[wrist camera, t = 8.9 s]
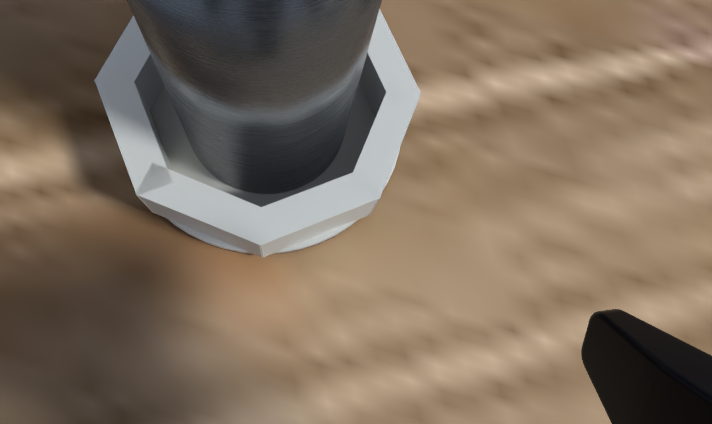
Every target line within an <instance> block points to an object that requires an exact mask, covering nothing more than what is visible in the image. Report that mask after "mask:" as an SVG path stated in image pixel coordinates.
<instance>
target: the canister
mask: <svg viewBox="0 0 712 424" xmlns="http://www.w3.org/2000/svg"><path fill="white" fill-rule="evenodd" d="M127 2H128V4H129V6H130V8H131V11H132V13H133V15H134V17H135V20H136V22H137V24H138V27H139V29H140V31H141V33H142V36H143V38H144V40H145V42H146V45H147V47H148V49H149V52H150V54H151V56H152V58H153V61H154V63H155V65H156V67H157V70H158V72H159V74H160V77H161V79H162V81H163V83H164V86H165V88H166V90H167V92H168V95H169V97H170V99H171V102H172V104H173V106H174V108H175V111H176V113H177V115H178V117H179V120H180V122H181V124H182V127H183V129H184V131H185V133H186V136H187V138H188V140H189V142H190V145H191V147H192V149H193V151H194V153H195V155H196V156H197V158H198V160H199V161H200V162H201V164H202V165H203V166H204V167H205V168H206V169H207V170H208V171H209V172H210V173H211V174H212V175H213V176H214V177H216V178H217V179H219V180H220V181H222V182H223V183H225V184H227V185H229V186H231V187H233V188H236V189H239V190H242V191H246V192H250V193H257V194H277V193H284V192H288V191H291V190H295V189H297V188H300V187H302V186H304V185H306V184H308V183H310V182H311V181H313V180H314V179H316V178H317V177H318V176H320V175H321V174H322V173H323V172H324V171H325V170H326V169H327V168H328V167H329V166H330V164H331V163H332V162H333V160H334V159H335V157H336V155H337V153H338V152H339V149H340V147H341V144H342V141H343V138H344V134H345V131H346V127H347V123H348V120H349V116H350V113H351V109H352V105H353V102H354V98H355V95H356V91H357V88H358V84H359V80H360V77H361V73H362V70H363V66H364V63H365V59H366V55H367V52H368V48H369V45H370V41H371V37H372V34H373V30H374V27H375V23H376V20H377V16H378V12H379V9H380V5H381V2H382V0H127Z"/></svg>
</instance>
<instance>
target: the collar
mask: <svg viewBox="0 0 712 424" xmlns="http://www.w3.org/2000/svg"><path fill="white" fill-rule="evenodd" d="M94 82H95V83H96V86H97V88H98V91H99V94H100V97H101V99H102V102H103V105H104V108H105V110H106V113H107V116H108V118H109V121H110V124H111V127H112V129H113V132H114V135H115V138H116V140H117V143H118V146H119V148H120V151H121V154H122V157H123V159H124V162H125V165H126V168H127V170H128V173H129V176H130V179H131V181H132V184H133V187H134V189H135V192H136V195H137V196H138V198H139V199H140V200H141V201H142V202H143V203H144V204H145V205H146V206H147V207H148V208H149V209H150V210H151V212H152V213H155V214H157V215H160V216H162V217H165V218H167V219H168V220H169V221H170V222H172V223H173V224H174V225H175V226H177V227H178V228H180V229H181V230H183V231H184V232H186V233H187V234H189V235H190V236H193V237H195V238H197V239H199V240H201V241H203V242H205V243H207V244H210V245H213V246H216V247H219V248H222V249H225V250H230V251H235V252H240V253H246V254H255V255H258V256H260V257H262V258H264V257H266V256H268V255H271V254H282V253H288V252H293V251H298V250H302V249H305V248H308V247H311V246H314V245H317V244H320V243H322V242H324V241H326V240H328V239H330V238H332V237H335V236H336V235H338V234H339V233H341V232H342V231H344V230H345V229H347V228H349V227H350V226H351V225H352V224H354V223H355V222H356V221H357V220H358V219H361V218H363V217H366V216H369V215H370V214H371V212H372V211H373V209H374V208H375V206H376V204H377V203H378V201H379V200H380V196H381V194H382V191H383V189H384V188H385V186H386V184H387V182H388V180H389V178H390V176H391V174H392V172H393V170H394V167H395V164H396V161H397V158H398V155H399V150H400V145H401V143H402V140H403V138H404V135H405V133H406V130H407V128H408V125H409V123H410V120H411V118H412V115H413V112H414V110H415V107H416V105H417V102H418V100H419V98H420V96H421V92H420V90H419V88H418V86H417V84H416V82H415V80H414V78H413V76H412V74H411V72H410V70H409V68H408V66H407V64H406V62H405V60H404V58H403V56H402V54H401V51H400V49H399V47H398V45H397V43H396V41H395V39H394V37H393V35H392V33H391V31H390V29H389V27H388V25H387V23H386V21H385V19H384V17H383V15H382V13H381V11H380V9H379V12H378V16H377V20H376V23H375V27H374V30H373V34H372V37H371V41H370V45H369V48H368V52H367V55H366V59H365V63H364V66H363V70H362V73H361V77H360V80H359V84H358V88H357V91H356V95H355V98H354V102H353V105H352V109H351V113H350V116H349V120H348V123H347V127H346V131H345V134H344V138H343V141H342V144H341V147H340V149H339V152H338V153H337V155H336V157H335V159H334V160H333V162H332V163H331V164H330V166H329V167H328V168H327V169H326V170H325V171H324V172H323V173H322V174H321V175H320V176H318V177H317V178H316V179H314V180H313V181H311V182H310V183H308V184H306V185H304V186H302V187H300V188H297V189H295V190H291V191H288V192H284V193H277V194H257V193H250V192H246V191H242V190H239V189H236V188H233V187H231V186H229V185H227V184H225V183H223V182H222V181H220V180H219V179H217V178H216V177H214V176H213V175H212V174H211V173H210V172H209V171H208V170H207V169H206V168H205V167H204V166H203V165H202V164H201V162H200V161H199V160H198V158H197V156H196V155H195V153H194V151H193V149H192V147H191V145H190V142H189V140H188V138H187V136H186V133H185V131H184V129H183V127H182V124H181V122H180V120H179V117H178V115H177V113H176V111H175V108H174V106H173V104H172V102H171V99H170V97H169V95H168V92H167V90H166V88H165V86H164V83H163V81H162V79H161V77H160V74H159V72H158V70H157V67H156V65H155V63H154V61H153V58H152V56H151V54H150V52H149V49H148V47H147V45H146V42H145V40H144V38H143V36H142V33H141V31H140V29H139V27H138V24H137V22H136V20H135V17H134V15H133V17H132V18H131V20H130V22H129V24H128V25H127V27H126V29H125V30H124V32H123V34H122V35H121V37H120V39H119V40H118V42H117V44H116V45H115V47H114V49H113V50H112V52H111V54H110V55H109V57H108V59H107V60H106V62H105V64H104V65H103V67H102V69H101V70H100V72H99V74H98V75H97V77H96V79H94Z"/></svg>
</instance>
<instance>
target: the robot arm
mask: <svg viewBox="0 0 712 424" xmlns="http://www.w3.org/2000/svg"><path fill="white" fill-rule="evenodd" d="M581 355H582V360H583V364H584V366H585V368H586V371H587V373H588V375H589V377H590V379H591V381H592V383H593V385H594V387H595V389H596V392H597V394H598V396H599V398H600V400H601V402H602V404H603V406H604V408H605V410H606V413H607V415H608V417H609V419H610V421H611V423H612V424H712V356H711V355H709V354H707V353H705V352H703V351H701V350H699V349H697V348H695V347H693V346H691V345H689V344H687V343H685V342H683V341H682V340H680V339H678V338H676V337H674V336H672V335H670V334H668V333H666V332H664V331H662V330H660V329H658V328H656V327H654V326H652V325H650V324H648V323H646V322H644V321H642V320H640V319H638V318H636V317H634V316H632V315H630V314H628V313H626V312H624V311H622V310H619V309H612V310H605V311H598V312H595V313H594V314H593V315H592V316H591V317H590V320H589V324H588V327H587V331H586V334H585V338H584V342H583V345H582V352H581Z"/></svg>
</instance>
